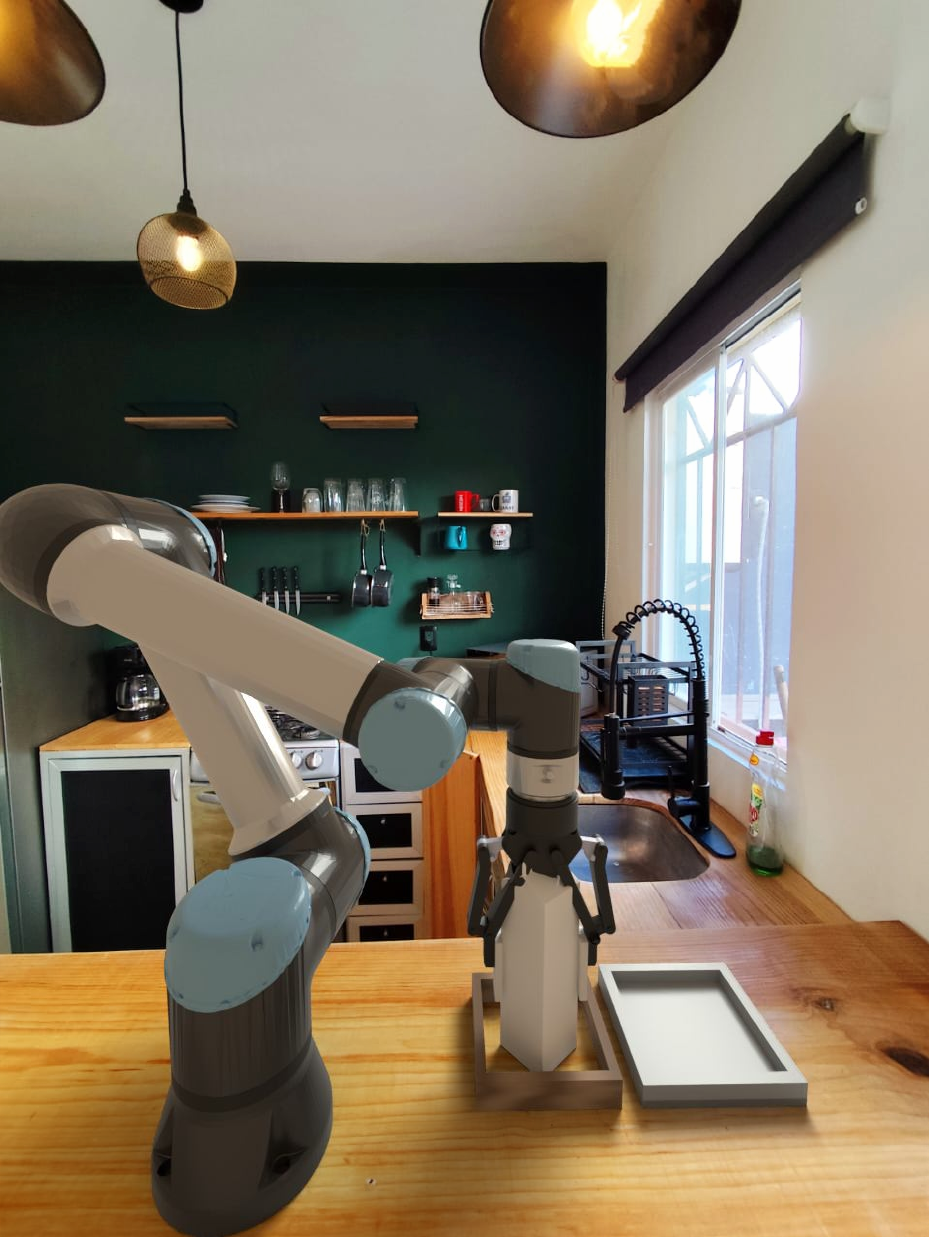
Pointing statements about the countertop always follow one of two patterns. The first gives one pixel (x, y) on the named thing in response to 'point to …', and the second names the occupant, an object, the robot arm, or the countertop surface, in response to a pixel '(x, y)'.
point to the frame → (545, 1085)
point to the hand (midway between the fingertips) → (538, 991)
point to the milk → (540, 972)
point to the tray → (696, 1038)
